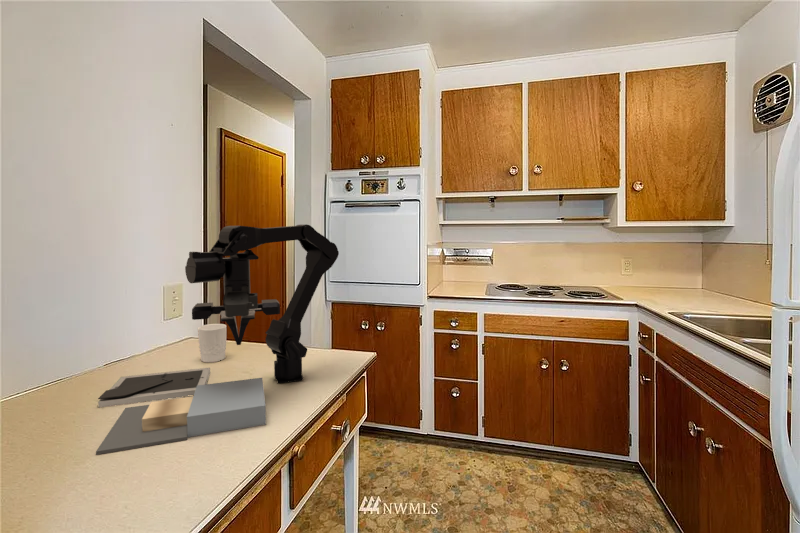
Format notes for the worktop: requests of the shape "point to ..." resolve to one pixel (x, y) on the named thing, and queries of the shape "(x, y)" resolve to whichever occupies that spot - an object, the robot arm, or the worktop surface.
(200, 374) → the picture frame
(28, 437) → the worktop surface
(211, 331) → the white cup
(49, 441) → the worktop surface
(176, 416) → the coaster
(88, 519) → the worktop surface
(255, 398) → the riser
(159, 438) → the rubber mat
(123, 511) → the worktop surface
